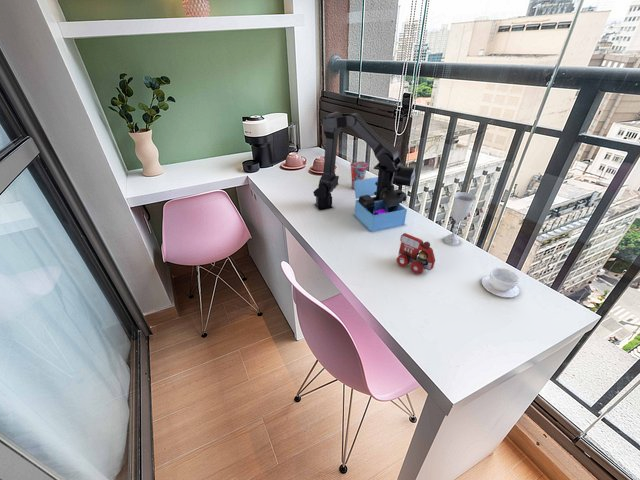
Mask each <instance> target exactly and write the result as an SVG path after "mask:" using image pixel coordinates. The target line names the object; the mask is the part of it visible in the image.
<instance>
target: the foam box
mask: <svg viewBox="0 0 640 480" xmlns="http://www.w3.org/2000/svg"><path fill="white" fill-rule="evenodd" d="M374 206H375V208H374V210H373V214H372V213H370V212H369V211H368V210H367V208H364V207H363V206H362V205H361V204H360V203H359V199H356V200H355V203H354V216H355V218H357V219H358V220H359V221H360V223H362V224H363V226H365V227H366V228H367V229H368V231H369V232H372V233H373V232H376V231H382V230H386V229H392V228H397V227H402V226H405V222H406V216H407V213H408V209H407V208H406V207H404V206H403V205H402V204H401V203H399V204H398V205H397V206H396V207H395V208H394V210H393V212H388V207H387V206H386V204H385V203H384V201H378V202H375V203H374ZM380 209H383V210H385V211H386V212H387V213H383V214H378V215H374V213H375V212H376V211H378V210H380Z"/></svg>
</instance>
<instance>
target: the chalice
mask: <svg viewBox="0 0 640 480" xmlns="http://www.w3.org/2000/svg"><path fill="white" fill-rule="evenodd" d="M453 198H454V200H453V203H452V207H451V211H452V212H451V213H452V218H453V220H454V221H455V223H454V224H453V228H452V229H451V230H452V233H449V234H447V236H446V237H445V238H444V240H443V241H444V242H445V244H448V245H452V246H456V245H459V243H460V241H459V237H458V235H457V234H456V232H457V231H458V227H459V223H460V222H462V221H463V220H464V219H465V218H467V216H468V215H469V214H470V212H471V211H472V208H473V204H474V202H475V201H476V199H477V196H476V195H475V194H473V193H470V192H466V191H459V192H455V193H454V194H453Z"/></svg>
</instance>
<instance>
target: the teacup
mask: <svg viewBox="0 0 640 480" xmlns="http://www.w3.org/2000/svg"><path fill="white" fill-rule="evenodd" d="M520 280H521V279H520V276H519V275H518V274H517V273H516V272H514V271H513V270H511V269H508V268H506V267H505V268H504V267H494V268H492V269H491V270H490V274H489V275H486V276H484V277H483V278H482V279H481V284H482V286H483V288H484V289H485V290H487V291H488V292H489V293H491V294H493V295H495V296H498V297H500V298H501V297H502V298H514V297H517V296H518V295H519V294H520V288H519V286H518V284H519V282H520Z"/></svg>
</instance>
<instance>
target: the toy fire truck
mask: <svg viewBox="0 0 640 480" xmlns="http://www.w3.org/2000/svg"><path fill="white" fill-rule="evenodd" d="M399 241H400V245H399V249H398V255H397V258H396V263H397V265H398V266H399V267H402V268H406V267H407V266H409V268H410V270H411V272H412V273H413V274H415V275H419V274H422V273H423V272H424V270H427V271H432V270H433V269H434V268H435V267H434V266H435V263H436V258H435V253H434V249H433V248H432V247H431V242H429V241H423V240H422V239H421V238H418V237H416V236H414V235H411V234H408V233H406V232H404V233H402V234H401V235H400V238H399ZM410 263H411V264H410ZM409 264H410V265H409Z"/></svg>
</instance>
